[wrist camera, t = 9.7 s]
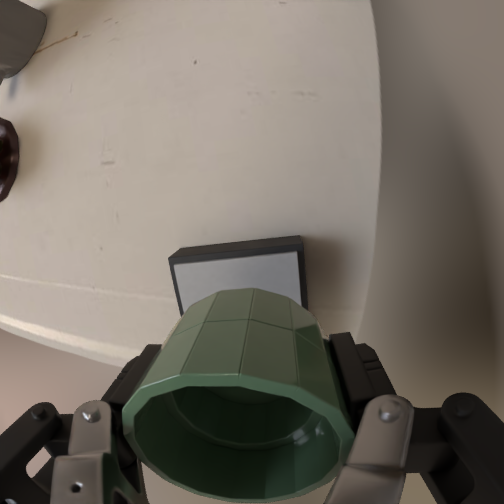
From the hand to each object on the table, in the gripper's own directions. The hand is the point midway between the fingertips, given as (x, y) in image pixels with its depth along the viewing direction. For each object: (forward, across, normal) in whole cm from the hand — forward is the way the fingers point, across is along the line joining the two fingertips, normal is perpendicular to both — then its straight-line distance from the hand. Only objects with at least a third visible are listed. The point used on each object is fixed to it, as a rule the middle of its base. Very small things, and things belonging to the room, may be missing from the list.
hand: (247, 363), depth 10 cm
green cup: (+1, 0, 0) cm, 1 cm away
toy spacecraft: (+14, +35, -16) cm, 42 cm away
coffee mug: (+14, +27, -29) cm, 43 cm away
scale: (+14, +2, +3) cm, 15 cm away
